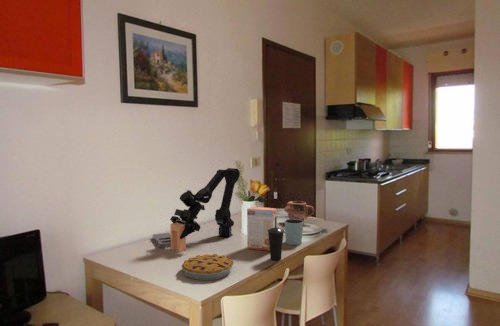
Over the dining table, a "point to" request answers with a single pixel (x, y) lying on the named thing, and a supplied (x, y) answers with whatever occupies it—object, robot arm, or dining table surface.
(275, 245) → the drinking cup
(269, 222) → the cracker box
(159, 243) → the gray slotted base
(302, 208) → the brown teapot
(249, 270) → the dining table surface
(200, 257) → the pie
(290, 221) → the blue gray cylindrical container
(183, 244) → the clip
